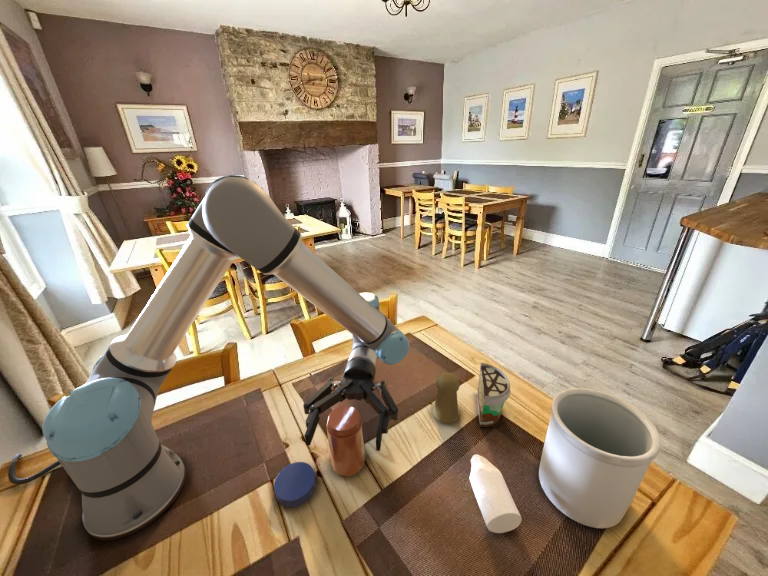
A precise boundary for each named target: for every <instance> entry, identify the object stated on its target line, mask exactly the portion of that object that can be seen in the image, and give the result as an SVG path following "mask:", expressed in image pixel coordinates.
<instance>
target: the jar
mask: <svg viewBox="0 0 768 576" xmlns="http://www.w3.org/2000/svg"><path fill="white" fill-rule="evenodd" d="M326 432H327V433H326V434H327V439H328V440H327V441H328V447H329V455H330V461H331V467H332V470H333V471H334V472H335V473H336V474H337V475H338V476H341V477H351V476H354V475H356V474H358V473H359V472H360V471H361V470H362V468H363V467H364V466H365V462H366V457H365V454H366V453H365V441H364V428H363V419H362V417H361V415H360V412H359V411H358V409H357V408H356V407H353V406H350V405H340V406H338V407H336V408H334V409H332V411H331V412H330V413H329V414H328V417H327V423H326Z"/></svg>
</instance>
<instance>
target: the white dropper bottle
mask: <svg viewBox="0 0 768 576" xmlns="http://www.w3.org/2000/svg"><path fill="white" fill-rule="evenodd" d="M470 465H471V467H470V474H469V477H468V478H469V482H470V485H471V489H472V491H473V494H474V497H475V499H476V501H477V505H478V508H479V510H480V513H481V515H482V518H483V520H484V524H485V525H486V528H487V530H488V531H489V532H492V533H495V534H504V533H507V532H510V531H513V530H515V529H517V528H518V527H519V526H520V525H521V524H522V521H523V519H522V515H521V514H520V512H519V509H518V508H517V505H516V503H515V501H514V499H513V497H512V494H511V492H510V489H509V487H508V485H507V484H506V481H505V478H504V476H503V474H502V472H501V471H500V470H499V469H498V467H496V466H495V465H494V464H492V463H491V462H490V461H489V460H488V459H487V458H486V457H484V456H483V455H480V454H477V453H475V454H473V455H472V457H471V458H470Z"/></svg>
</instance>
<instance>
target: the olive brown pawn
mask: <svg viewBox="0 0 768 576" xmlns="http://www.w3.org/2000/svg"><path fill="white" fill-rule="evenodd" d="M435 383H436V388H437V391H436V392H437V393H436V396H435V401H434V405H433V408H432V414H433V417H434V418H435V419H436V420H437V421H438V422H440V423H443V424H451V423H455V422H456V421H457V420H458V418H459V403H458V402H459V401H458V391H459V389H460V385H461V384H460V379H459V377H458V376H457V375H456V374H455V373H452V372H447V371H446V372H442V373H441V374H439V375H438V376H437V378H436V382H435Z"/></svg>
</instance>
